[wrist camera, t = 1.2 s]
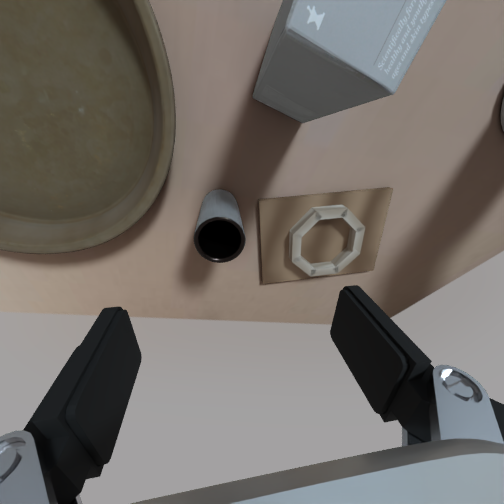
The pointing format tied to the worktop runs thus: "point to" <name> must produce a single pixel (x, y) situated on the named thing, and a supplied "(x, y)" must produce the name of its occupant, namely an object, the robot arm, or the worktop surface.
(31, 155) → the plant saucer
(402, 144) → the worktop surface
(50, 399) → the robot arm
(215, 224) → the grey tube
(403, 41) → the skincare box
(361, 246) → the tan board with ring
